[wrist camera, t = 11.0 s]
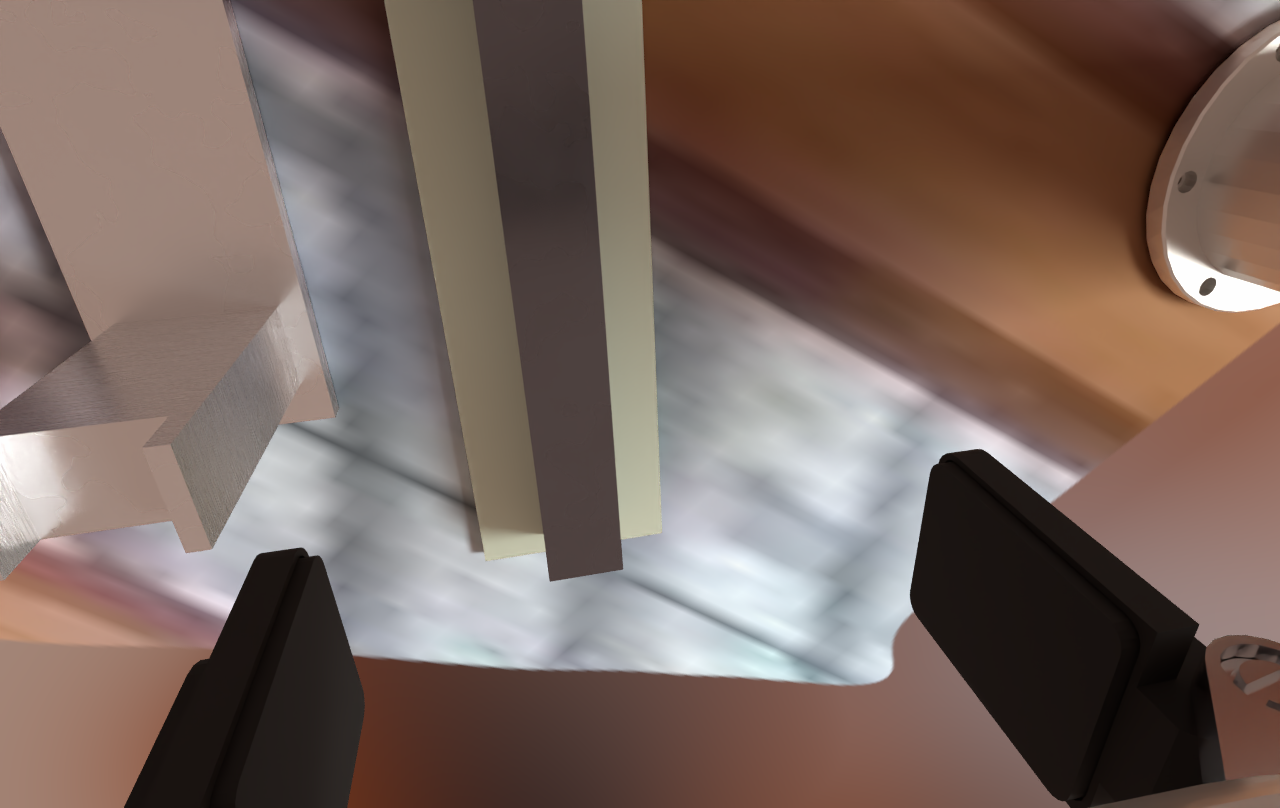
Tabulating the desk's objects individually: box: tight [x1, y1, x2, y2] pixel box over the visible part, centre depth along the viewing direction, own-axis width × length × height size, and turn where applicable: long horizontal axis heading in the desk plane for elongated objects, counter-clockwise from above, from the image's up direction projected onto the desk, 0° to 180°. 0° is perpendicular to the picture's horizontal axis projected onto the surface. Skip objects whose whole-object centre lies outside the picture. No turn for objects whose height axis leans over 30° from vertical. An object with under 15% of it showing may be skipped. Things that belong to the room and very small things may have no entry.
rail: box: [473, 0, 623, 581], centre depth 25 cm, size 3×24×3 cm, turn 2°
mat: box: [384, 0, 662, 561], centre depth 27 cm, size 8×26×1 cm, turn 2°
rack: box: [0, 0, 339, 581], centre depth 18 cm, size 7×22×11 cm, turn 2°
